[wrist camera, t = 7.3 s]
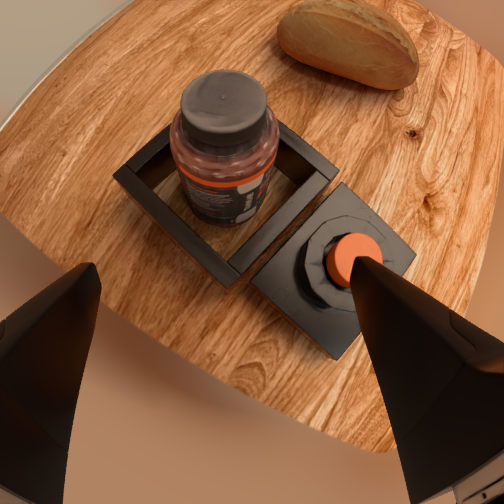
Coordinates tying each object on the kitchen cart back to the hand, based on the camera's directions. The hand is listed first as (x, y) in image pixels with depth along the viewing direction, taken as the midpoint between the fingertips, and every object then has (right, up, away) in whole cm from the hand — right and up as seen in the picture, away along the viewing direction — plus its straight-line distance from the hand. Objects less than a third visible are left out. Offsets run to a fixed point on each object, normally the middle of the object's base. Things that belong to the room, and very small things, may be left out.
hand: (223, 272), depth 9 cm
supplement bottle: (-1, +5, +15) cm, 16 cm away
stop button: (+7, 0, +11) cm, 13 cm away
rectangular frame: (-1, +5, +15) cm, 16 cm away
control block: (+7, -1, +14) cm, 16 cm away
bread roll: (+10, +20, +19) cm, 29 cm away
